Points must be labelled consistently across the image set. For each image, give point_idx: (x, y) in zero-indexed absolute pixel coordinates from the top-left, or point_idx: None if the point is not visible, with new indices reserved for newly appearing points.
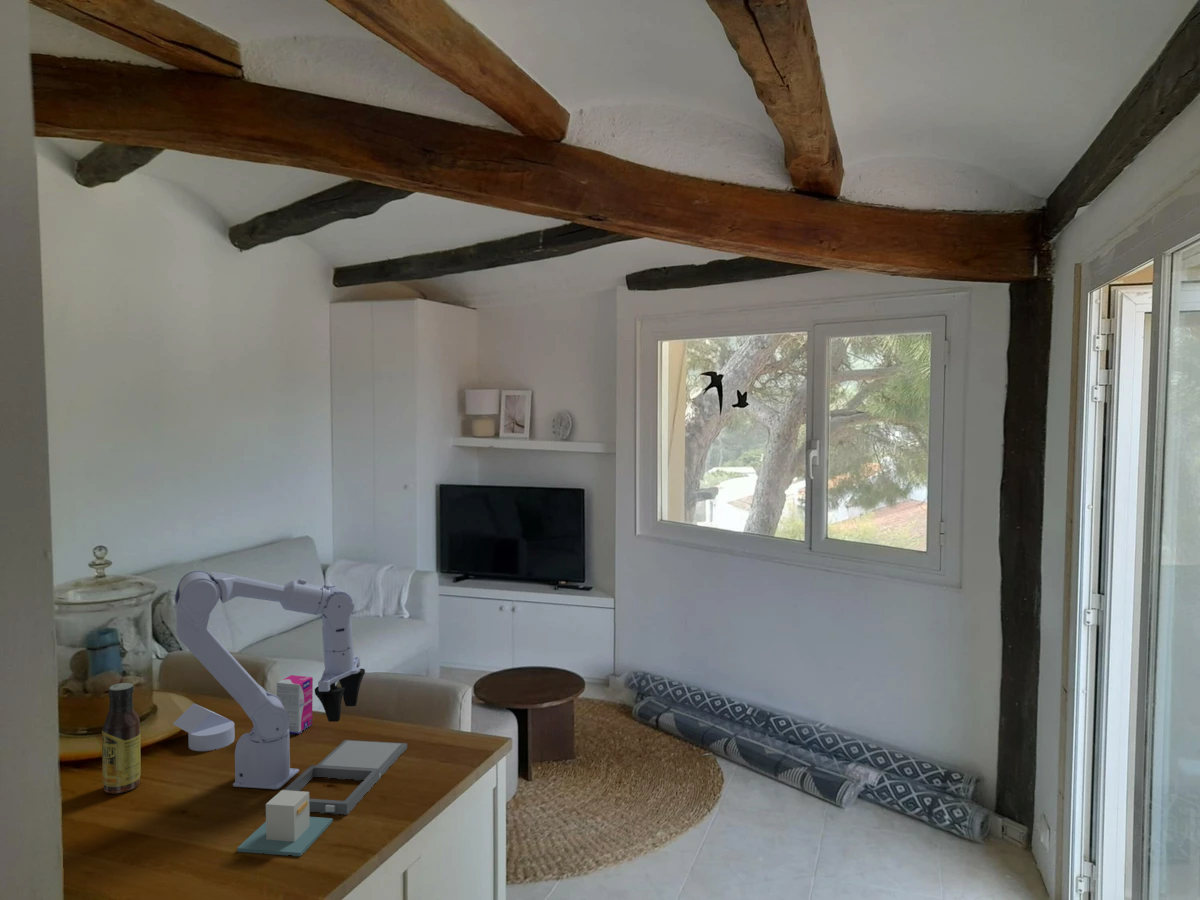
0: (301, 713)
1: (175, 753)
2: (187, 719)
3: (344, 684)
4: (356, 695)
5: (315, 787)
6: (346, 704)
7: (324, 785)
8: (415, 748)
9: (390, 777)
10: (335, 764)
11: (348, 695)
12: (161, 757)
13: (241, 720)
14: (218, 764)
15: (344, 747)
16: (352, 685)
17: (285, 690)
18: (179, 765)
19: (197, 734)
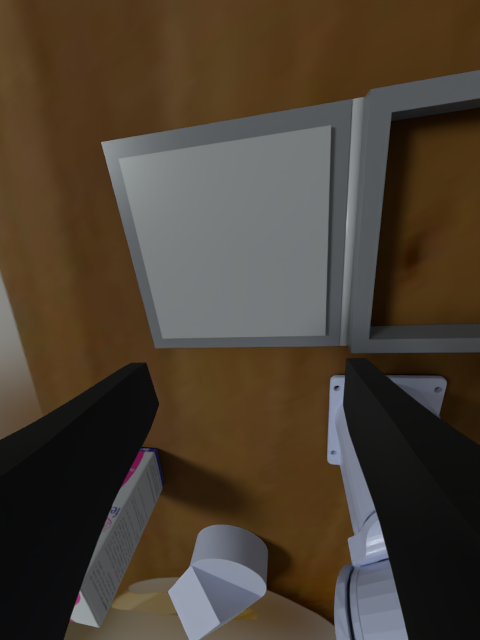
0: (124, 487)
1: (283, 571)
2: (228, 620)
3: (80, 537)
4: (103, 396)
5: (425, 293)
6: (154, 407)
7: (411, 274)
8: (101, 111)
9: (339, 63)
10: (315, 296)
11: (122, 439)
12: (301, 580)
13: (143, 538)
14: (314, 515)
15: (202, 326)
16: (59, 486)
17: (107, 585)
18: (326, 556)
19: (262, 589)
